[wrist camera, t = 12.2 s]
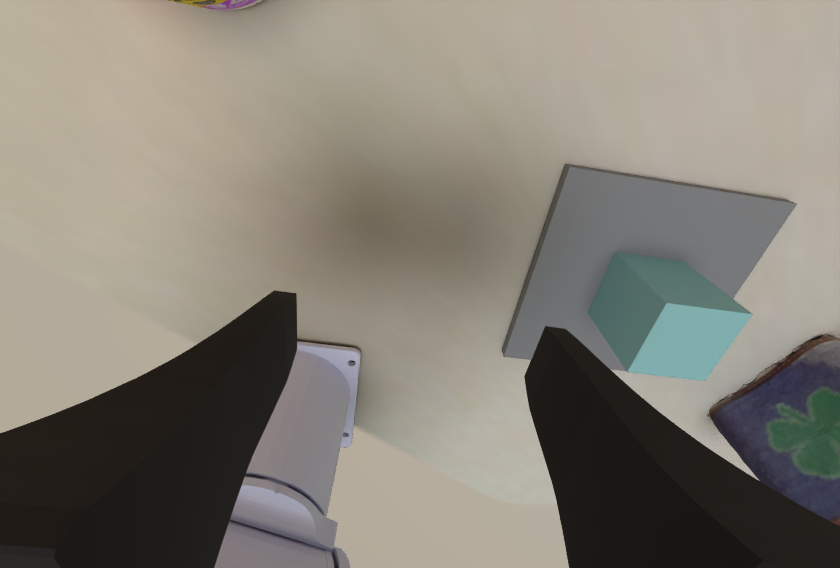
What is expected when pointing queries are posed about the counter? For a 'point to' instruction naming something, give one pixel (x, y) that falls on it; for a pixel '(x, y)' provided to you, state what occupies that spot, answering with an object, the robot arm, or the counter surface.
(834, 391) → the flask
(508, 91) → the counter surface
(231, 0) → the supplement bottle
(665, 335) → the teal block
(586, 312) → the mat
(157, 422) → the robot arm
